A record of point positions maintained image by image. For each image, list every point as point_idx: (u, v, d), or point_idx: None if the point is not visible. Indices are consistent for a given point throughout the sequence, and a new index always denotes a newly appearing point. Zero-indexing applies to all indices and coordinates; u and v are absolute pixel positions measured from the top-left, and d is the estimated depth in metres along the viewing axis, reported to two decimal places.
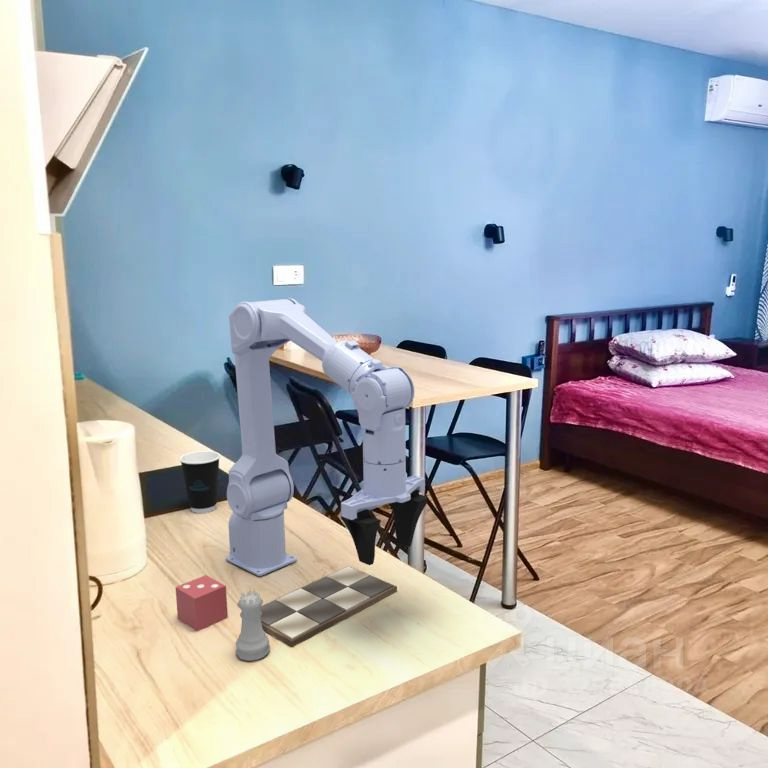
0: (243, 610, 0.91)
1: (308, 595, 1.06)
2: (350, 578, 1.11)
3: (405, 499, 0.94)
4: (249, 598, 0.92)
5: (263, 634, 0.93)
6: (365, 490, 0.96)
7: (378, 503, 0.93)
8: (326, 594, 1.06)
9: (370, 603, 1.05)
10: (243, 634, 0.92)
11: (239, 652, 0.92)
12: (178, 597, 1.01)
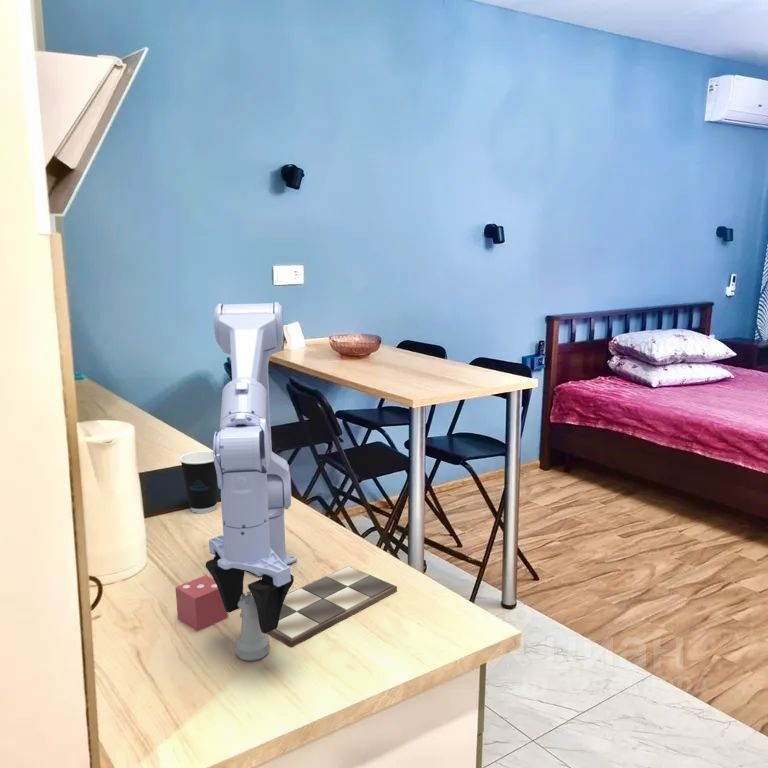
0: (243, 610, 0.91)
1: (308, 595, 1.06)
2: (350, 578, 1.11)
3: (219, 564, 0.88)
4: (249, 598, 0.92)
5: (263, 634, 0.93)
6: None
7: (218, 553, 0.91)
8: (326, 594, 1.06)
9: (370, 603, 1.05)
10: (243, 634, 0.92)
11: (239, 652, 0.92)
12: (178, 597, 1.01)
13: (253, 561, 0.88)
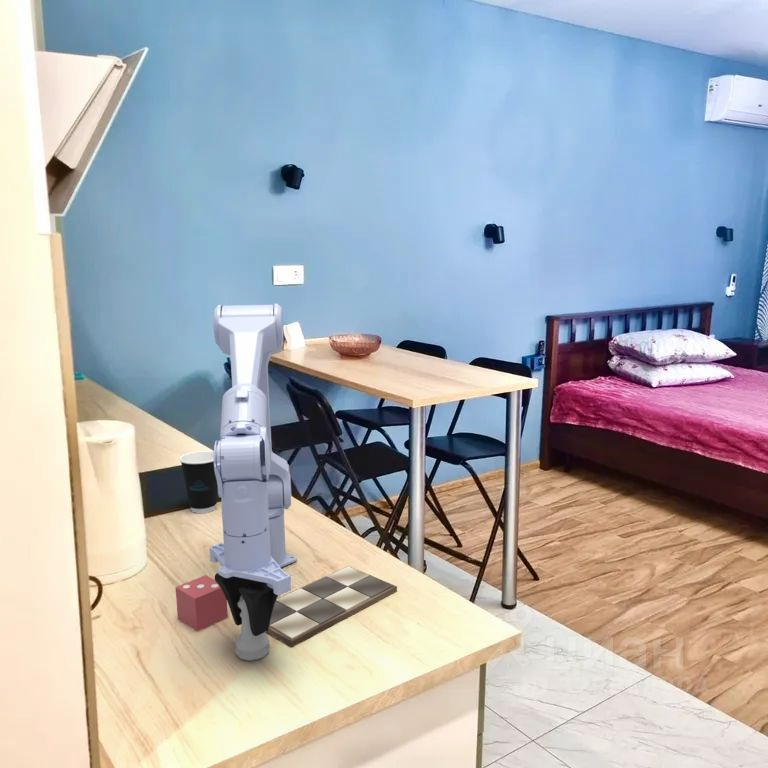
0: (243, 610, 0.91)
1: (308, 595, 1.06)
2: (350, 578, 1.11)
3: (220, 573, 0.88)
4: None
5: (263, 634, 0.93)
6: None
7: (219, 561, 0.92)
8: (326, 594, 1.06)
9: (370, 603, 1.05)
10: (243, 634, 0.92)
11: (239, 652, 0.92)
12: (178, 597, 1.01)
13: (253, 570, 0.88)
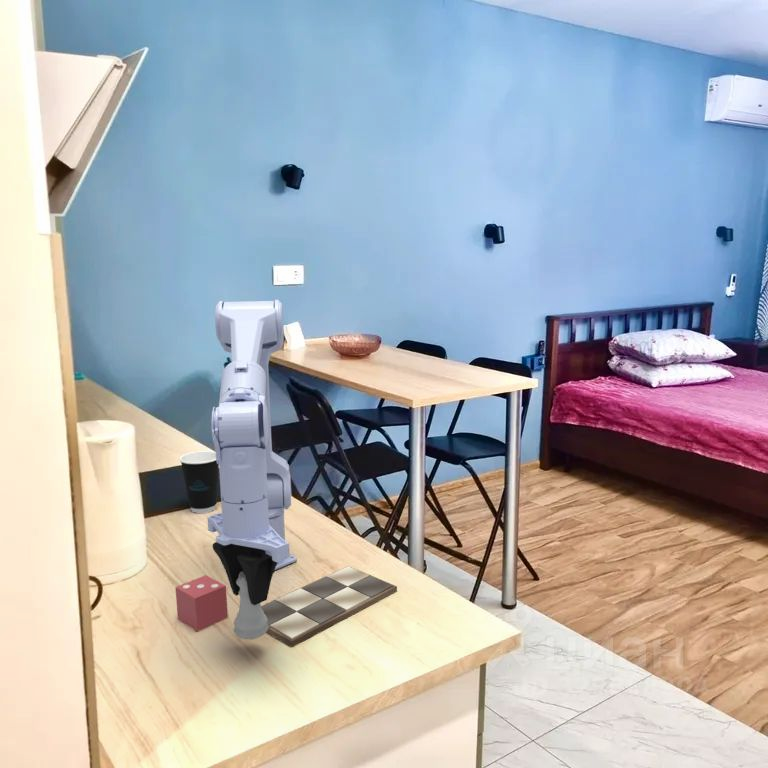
0: (242, 588, 0.90)
1: (308, 595, 1.06)
2: (350, 578, 1.11)
3: (218, 540, 0.87)
4: None
5: (262, 612, 0.92)
6: None
7: (217, 530, 0.91)
8: (326, 594, 1.06)
9: (370, 603, 1.05)
10: (242, 612, 0.91)
11: (238, 631, 0.91)
12: (178, 597, 1.01)
13: (252, 537, 0.87)
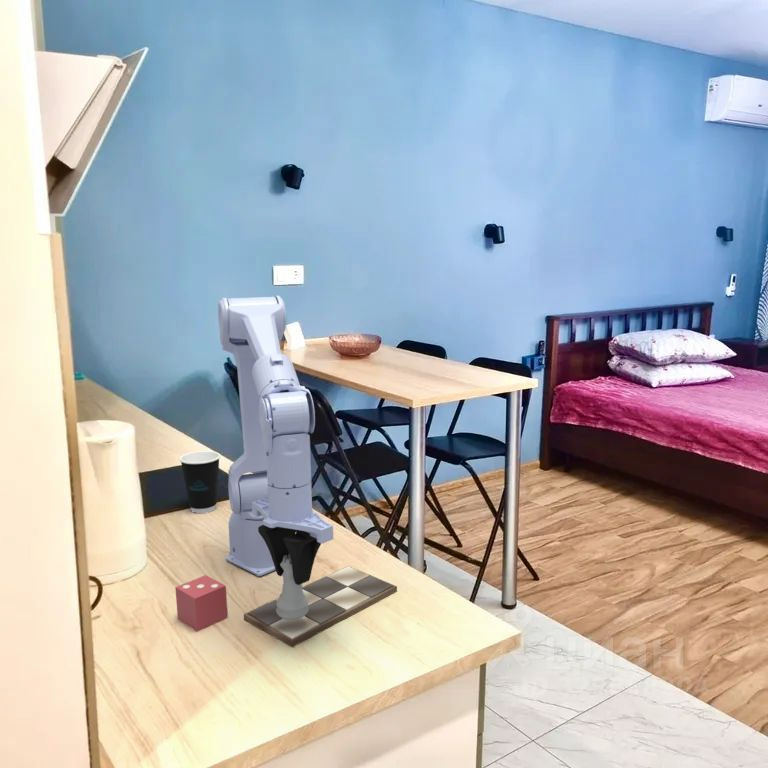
0: (286, 570, 0.95)
1: (308, 595, 1.06)
2: (350, 578, 1.11)
3: (265, 523, 0.93)
4: None
5: (303, 594, 0.97)
6: None
7: (263, 514, 0.96)
8: (326, 594, 1.06)
9: (370, 603, 1.05)
10: (285, 594, 0.96)
11: (280, 611, 0.96)
12: (178, 597, 1.01)
13: (297, 520, 0.93)
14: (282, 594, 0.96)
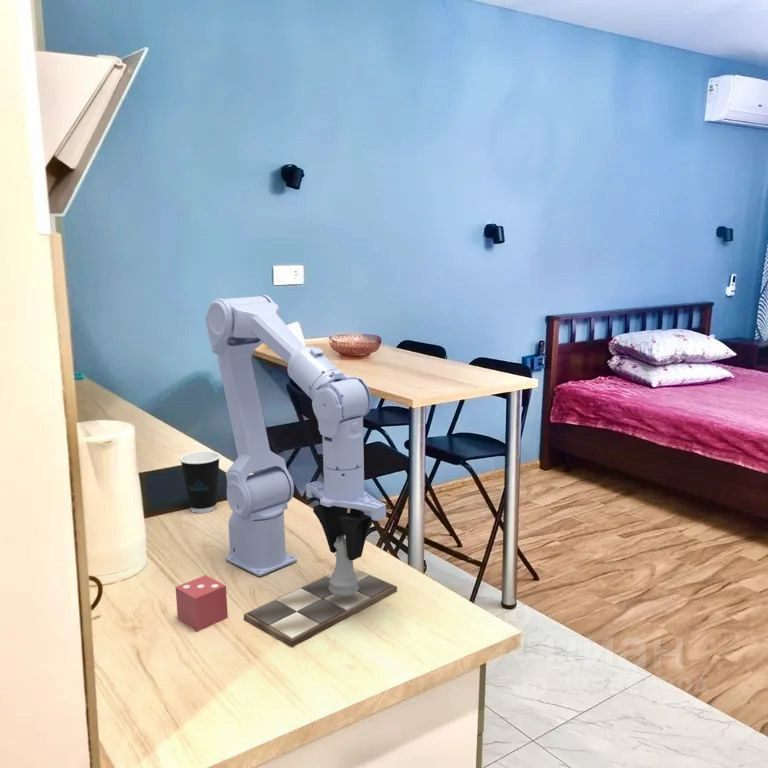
0: (340, 550, 1.02)
1: (308, 595, 1.06)
2: None
3: (322, 502, 0.99)
4: (344, 540, 1.03)
5: (354, 573, 1.04)
6: None
7: (318, 495, 1.03)
8: (326, 594, 1.06)
9: (370, 603, 1.05)
10: (338, 572, 1.03)
11: (333, 589, 1.03)
12: (178, 597, 1.01)
13: (352, 500, 0.99)
14: (335, 573, 1.03)
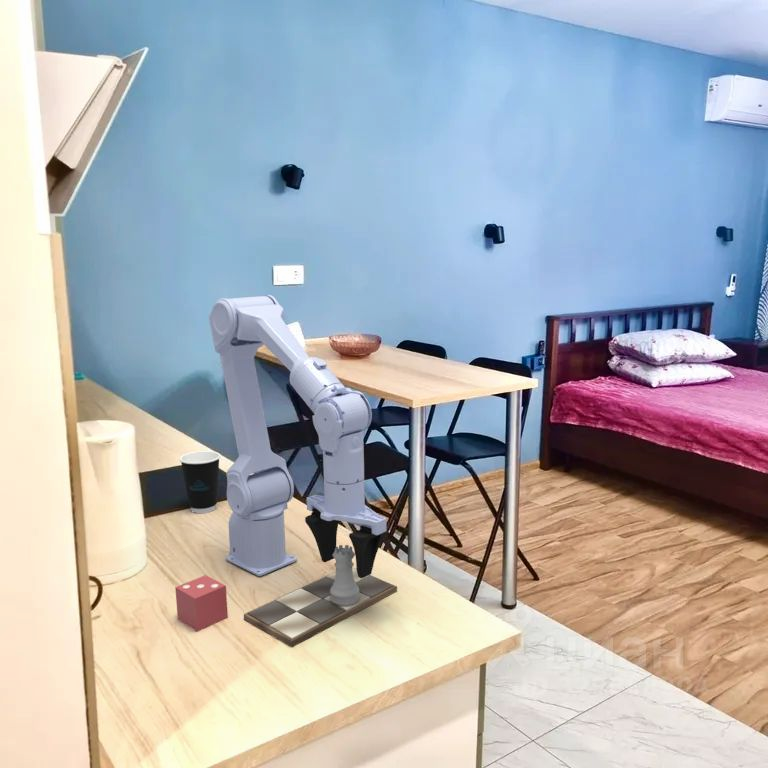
0: (339, 561, 1.02)
1: (308, 595, 1.06)
2: None
3: (322, 517, 1.00)
4: (343, 550, 1.03)
5: (354, 582, 1.04)
6: None
7: (318, 509, 1.03)
8: (326, 594, 1.06)
9: (370, 603, 1.05)
10: (339, 582, 1.03)
11: (335, 599, 1.03)
12: (178, 597, 1.01)
13: (352, 514, 1.00)
14: (335, 583, 1.03)
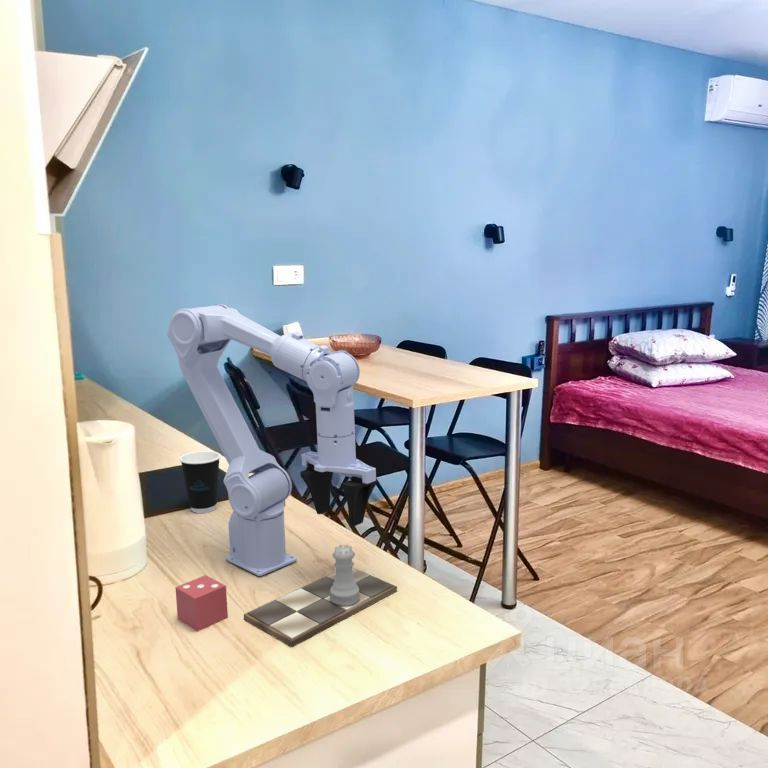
0: (339, 561, 1.02)
1: (308, 595, 1.06)
2: None
3: (316, 468, 1.06)
4: (343, 550, 1.03)
5: (354, 582, 1.04)
6: None
7: (312, 463, 1.10)
8: (326, 594, 1.06)
9: (370, 603, 1.05)
10: (339, 582, 1.03)
11: (335, 599, 1.03)
12: (178, 597, 1.01)
13: (344, 465, 1.06)
14: (335, 583, 1.03)
